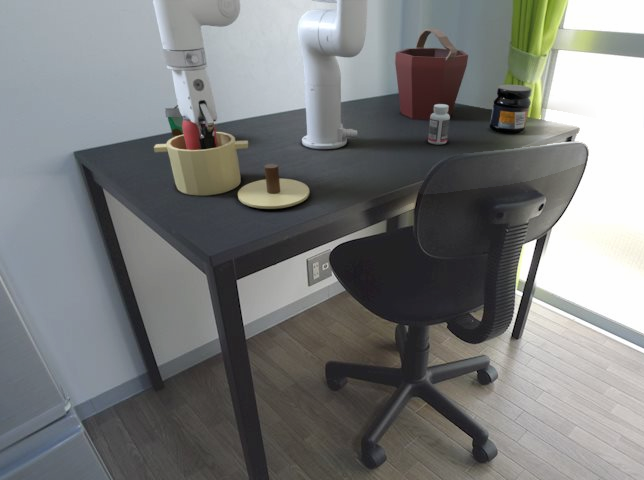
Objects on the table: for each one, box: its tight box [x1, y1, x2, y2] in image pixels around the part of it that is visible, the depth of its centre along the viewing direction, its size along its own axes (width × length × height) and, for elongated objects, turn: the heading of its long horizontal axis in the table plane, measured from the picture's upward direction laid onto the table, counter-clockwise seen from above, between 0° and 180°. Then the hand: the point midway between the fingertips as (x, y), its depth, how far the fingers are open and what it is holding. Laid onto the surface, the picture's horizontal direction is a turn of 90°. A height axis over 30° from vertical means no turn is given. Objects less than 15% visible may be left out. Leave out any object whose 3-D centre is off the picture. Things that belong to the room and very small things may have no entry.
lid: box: [237, 163, 310, 210], centre depth 93 cm, size 15×15×7 cm
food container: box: [164, 104, 183, 138], centre depth 123 cm, size 12×6×10 cm, turn 168°
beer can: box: [182, 116, 218, 150], centre depth 96 cm, size 7×7×12 cm
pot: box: [153, 131, 249, 197], centre depth 98 cm, size 14×19×10 cm
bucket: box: [394, 28, 469, 121], centre depth 146 cm, size 24×22×25 cm
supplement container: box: [489, 84, 532, 135], centre depth 134 cm, size 10×10×12 cm
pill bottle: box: [427, 104, 451, 145], centre depth 124 cm, size 5×5×10 cm
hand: (203, 151), depth 97 cm, fingers closed on beer can, 6 cm apart
